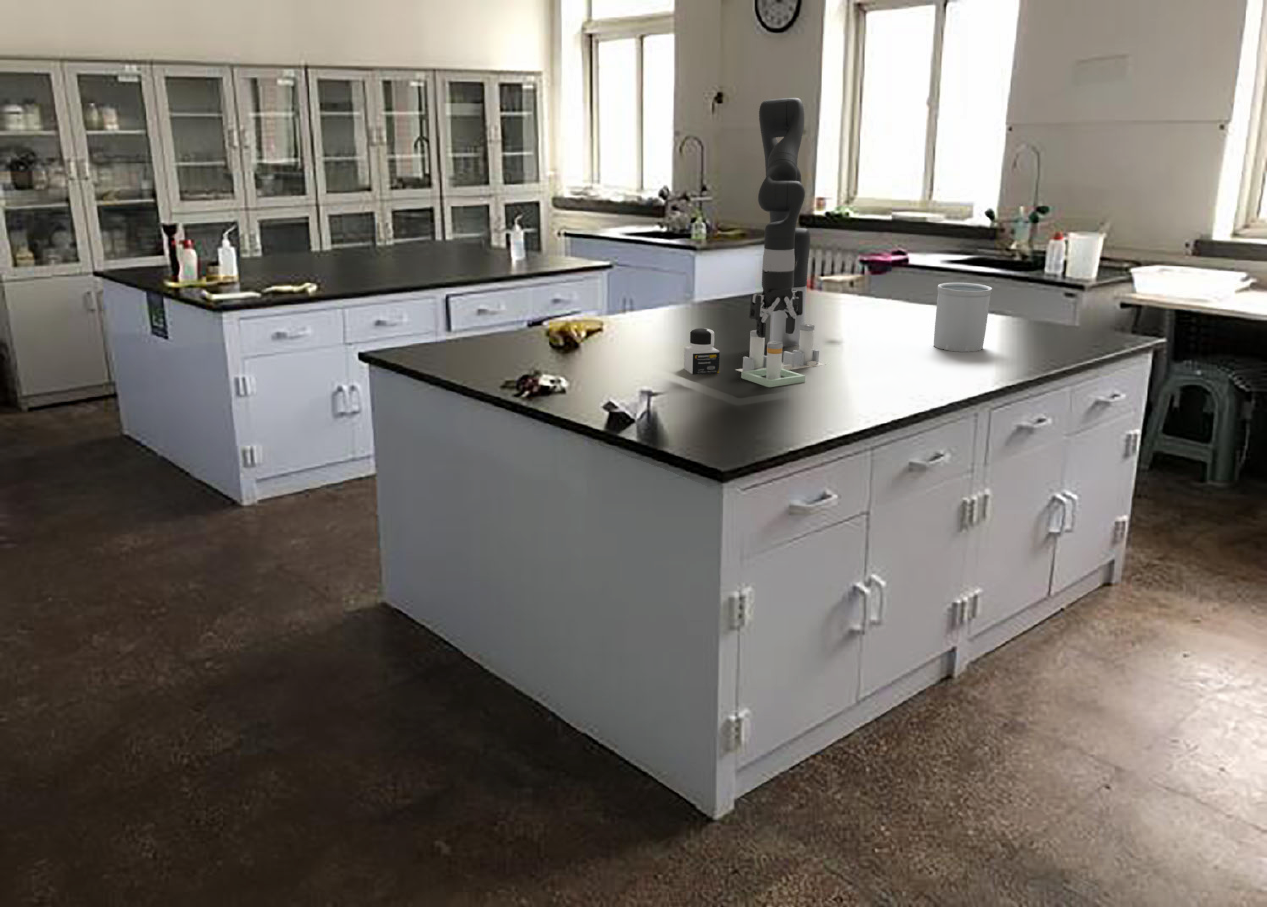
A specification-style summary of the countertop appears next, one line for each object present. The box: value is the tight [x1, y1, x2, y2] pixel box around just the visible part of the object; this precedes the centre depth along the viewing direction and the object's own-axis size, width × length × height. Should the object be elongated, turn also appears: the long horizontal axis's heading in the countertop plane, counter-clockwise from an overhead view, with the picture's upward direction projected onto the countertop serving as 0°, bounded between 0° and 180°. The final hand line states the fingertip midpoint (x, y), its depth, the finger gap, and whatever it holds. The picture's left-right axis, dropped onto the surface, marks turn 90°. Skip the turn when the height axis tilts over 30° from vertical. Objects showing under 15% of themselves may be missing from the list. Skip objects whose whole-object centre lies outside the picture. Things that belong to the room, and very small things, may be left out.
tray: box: [740, 368, 806, 388], centre depth 254 cm, size 11×11×3 cm
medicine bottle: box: [683, 327, 721, 375], centre depth 262 cm, size 7×7×12 cm
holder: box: [735, 348, 827, 372], centre depth 267 cm, size 7×24×5 cm, turn 121°
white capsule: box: [798, 323, 816, 365], centre depth 270 cm, size 4×4×10 cm
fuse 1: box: [749, 329, 766, 370], centre depth 262 cm, size 4×4×10 cm
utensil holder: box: [933, 282, 993, 353], centre depth 297 cm, size 15×15×18 cm
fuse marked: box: [765, 341, 783, 380], centre depth 253 cm, size 4×4×10 cm
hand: (775, 335), depth 251 cm, fingers open, 8 cm apart
